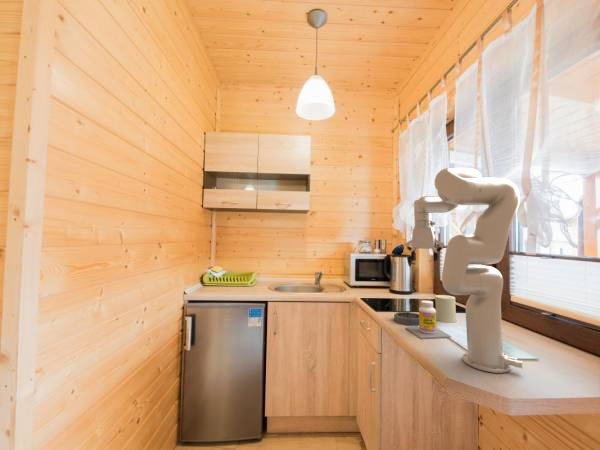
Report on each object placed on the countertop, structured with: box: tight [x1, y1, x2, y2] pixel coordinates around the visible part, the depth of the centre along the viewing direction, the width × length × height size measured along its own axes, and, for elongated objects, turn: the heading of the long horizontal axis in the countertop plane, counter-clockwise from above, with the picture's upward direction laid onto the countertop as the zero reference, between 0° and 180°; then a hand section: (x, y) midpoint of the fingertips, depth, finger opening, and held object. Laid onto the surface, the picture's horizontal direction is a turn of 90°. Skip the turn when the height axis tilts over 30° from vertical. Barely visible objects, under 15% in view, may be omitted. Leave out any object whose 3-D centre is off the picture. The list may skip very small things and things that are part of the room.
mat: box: [405, 326, 452, 340], centre depth 113 cm, size 13×13×1 cm
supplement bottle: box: [418, 300, 437, 334], centre depth 113 cm, size 7×7×13 cm
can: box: [434, 294, 457, 324], centre depth 132 cm, size 9×9×12 cm
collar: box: [393, 311, 419, 327], centre depth 129 cm, size 12×12×3 cm
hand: (424, 260), depth 124 cm, fingers open, 9 cm apart
